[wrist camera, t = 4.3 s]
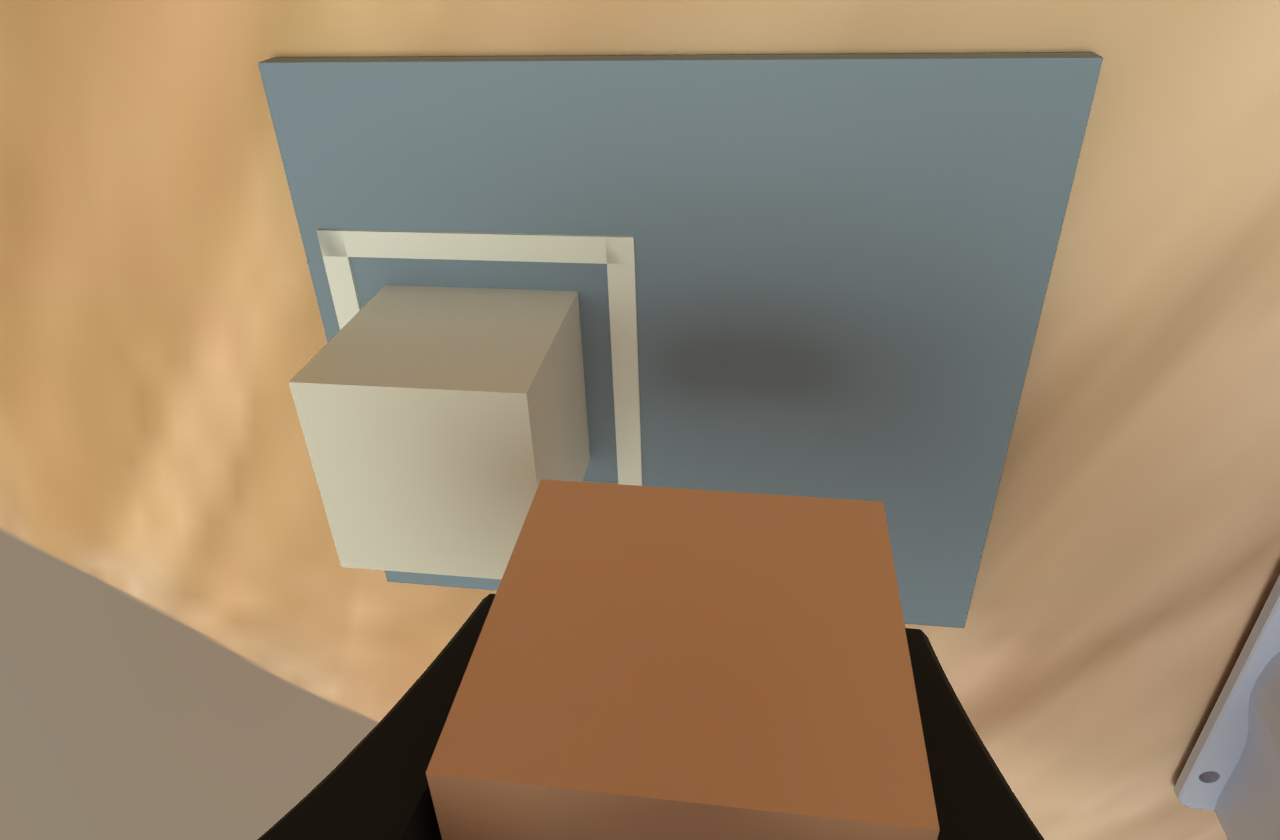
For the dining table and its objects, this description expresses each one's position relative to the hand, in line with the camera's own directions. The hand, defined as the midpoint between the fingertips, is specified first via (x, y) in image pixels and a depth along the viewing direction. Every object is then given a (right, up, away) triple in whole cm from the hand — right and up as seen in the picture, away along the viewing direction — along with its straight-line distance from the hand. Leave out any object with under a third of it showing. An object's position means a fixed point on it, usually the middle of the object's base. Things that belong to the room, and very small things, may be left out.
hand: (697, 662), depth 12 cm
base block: (-4, +4, +9) cm, 11 cm away
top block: (0, +1, +1) cm, 1 cm away
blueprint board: (0, +5, +9) cm, 10 cm away
